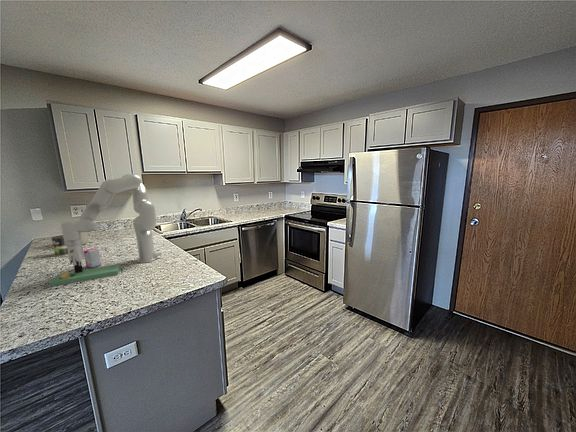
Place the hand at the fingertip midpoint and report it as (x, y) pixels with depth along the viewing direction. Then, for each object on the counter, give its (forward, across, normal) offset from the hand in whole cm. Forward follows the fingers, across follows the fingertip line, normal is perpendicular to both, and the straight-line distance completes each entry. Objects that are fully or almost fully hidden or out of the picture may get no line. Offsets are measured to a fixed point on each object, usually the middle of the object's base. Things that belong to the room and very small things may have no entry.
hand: (79, 272), depth 138 cm
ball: (+1, 0, +6) cm, 6 cm away
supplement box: (+4, +19, -3) cm, 20 cm away
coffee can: (+4, +62, +23) cm, 66 cm away
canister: (+4, +90, +21) cm, 93 cm away
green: (+4, 0, -4) cm, 5 cm away
